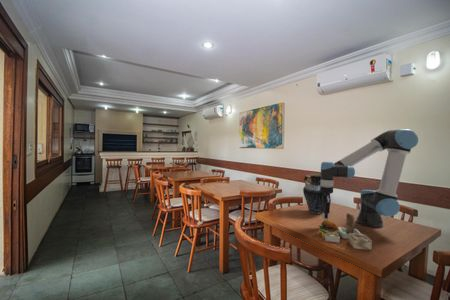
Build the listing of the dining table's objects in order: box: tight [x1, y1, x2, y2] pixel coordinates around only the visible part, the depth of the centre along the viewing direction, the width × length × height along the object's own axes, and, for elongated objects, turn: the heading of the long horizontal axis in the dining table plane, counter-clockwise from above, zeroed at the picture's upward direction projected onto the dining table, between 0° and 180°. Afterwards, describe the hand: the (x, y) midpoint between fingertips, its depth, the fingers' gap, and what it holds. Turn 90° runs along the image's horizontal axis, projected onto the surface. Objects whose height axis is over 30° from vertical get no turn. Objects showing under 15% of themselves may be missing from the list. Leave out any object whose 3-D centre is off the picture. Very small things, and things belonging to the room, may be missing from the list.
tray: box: [337, 226, 362, 240], centre depth 128 cm, size 11×11×2 cm
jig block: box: [348, 233, 373, 251], centre depth 116 cm, size 8×8×5 cm
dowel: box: [345, 212, 355, 234], centre depth 128 cm, size 4×4×12 cm
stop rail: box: [324, 233, 341, 244], centre depth 121 cm, size 7×2×4 cm, turn 76°
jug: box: [302, 173, 331, 215], centre depth 171 cm, size 21×19×30 cm
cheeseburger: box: [318, 219, 339, 239], centre depth 127 cm, size 10×11×10 cm
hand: (325, 222), depth 140 cm, fingers closed
